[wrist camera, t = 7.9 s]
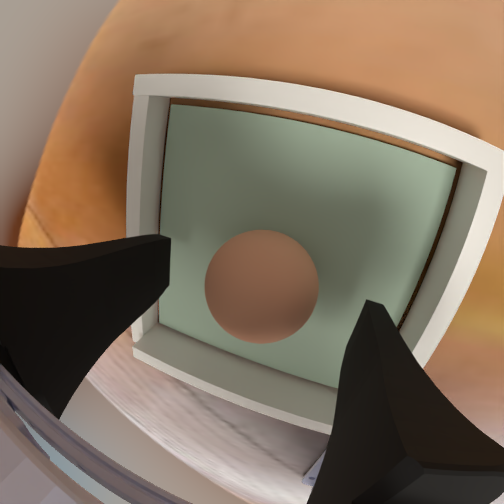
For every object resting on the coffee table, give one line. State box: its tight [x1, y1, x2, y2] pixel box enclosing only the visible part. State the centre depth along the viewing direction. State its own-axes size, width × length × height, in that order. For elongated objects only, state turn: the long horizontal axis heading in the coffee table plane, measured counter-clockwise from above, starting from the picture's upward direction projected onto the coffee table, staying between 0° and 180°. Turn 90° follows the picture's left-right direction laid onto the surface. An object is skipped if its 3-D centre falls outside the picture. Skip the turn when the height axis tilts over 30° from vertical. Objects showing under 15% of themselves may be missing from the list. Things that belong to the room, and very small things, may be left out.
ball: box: [204, 230, 319, 344], centre depth 11 cm, size 4×4×4 cm
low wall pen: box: [126, 74, 504, 435], centre depth 12 cm, size 14×14×2 cm
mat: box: [159, 104, 456, 388], centre depth 13 cm, size 11×11×1 cm
